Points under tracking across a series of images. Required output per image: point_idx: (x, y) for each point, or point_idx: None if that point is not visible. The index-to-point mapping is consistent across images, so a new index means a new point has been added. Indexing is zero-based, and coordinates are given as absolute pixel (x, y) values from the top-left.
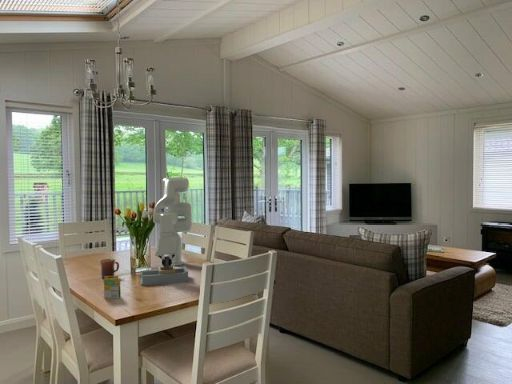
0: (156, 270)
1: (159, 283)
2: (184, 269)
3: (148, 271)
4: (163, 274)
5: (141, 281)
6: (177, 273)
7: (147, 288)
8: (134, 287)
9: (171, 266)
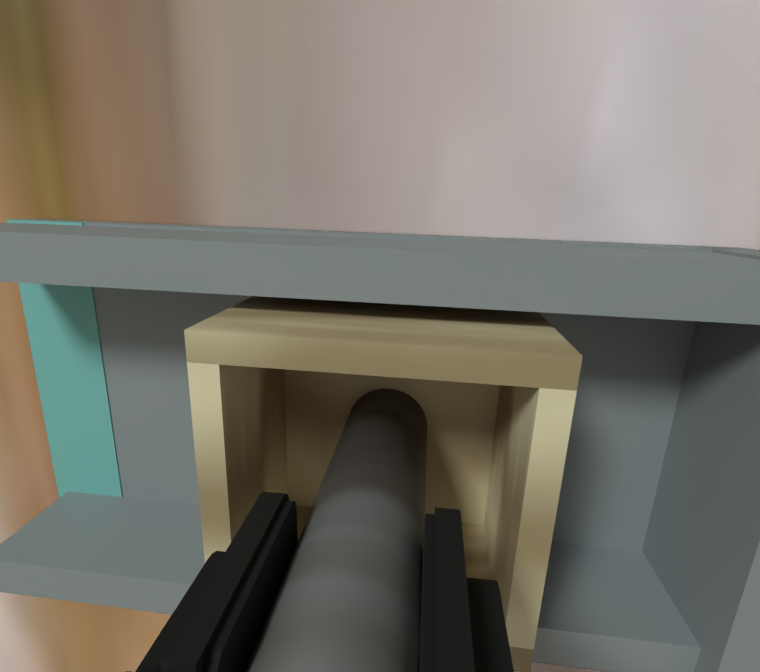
0: (178, 290)
1: None
2: (757, 557)
3: (34, 282)
4: None
5: (50, 443)
6: (545, 652)
7: (162, 620)
8: None
9: (506, 365)
